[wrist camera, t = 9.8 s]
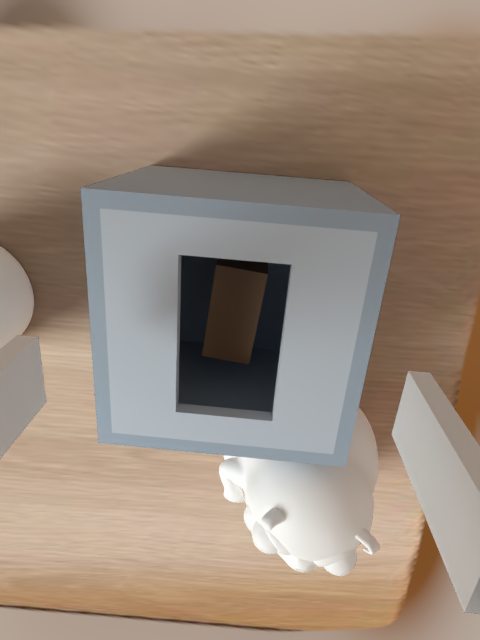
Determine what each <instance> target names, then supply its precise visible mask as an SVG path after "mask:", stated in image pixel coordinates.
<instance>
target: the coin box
mask: <svg viewBox="0 0 480 640" xmlns="http://www.w3.org/2000/svg"><path fill="white" fill-rule="evenodd" d="M80 189H81V203H82V217H83V231H84V246H85V260H86V274H87V288H88V303H89V317H90V331H91V345H92V360H93V374H94V388H95V402H96V416H97V431H98V443H104V444H114V445H124V446H134V447H144V448H155V449H165V450H175V451H185V452H195V453H206V454H216V455H226V456H236V457H246V458H257V459H267V460H277V461H287V462H297V463H308V464H318V465H328V466H338V467H346V463H347V458H348V453H349V449H350V444H351V440H352V435H353V431H354V426H355V421H356V417H357V412H358V408H359V403H360V399H361V394H362V389H363V385H364V380H365V376H366V371H367V367H368V362H369V357H370V353H371V348H372V344H373V339H374V335H375V330H376V326H377V321H378V316H379V312H380V307H381V303H382V298H383V294H384V289H385V284H386V280H387V275H388V271H389V266H390V262H391V257H392V252H393V248H394V243H395V239H396V234H397V230H398V225H399V220H400V216H401V215H400V214H398V213H397V212H395V211H394V210H392V209H391V208H389V207H388V206H386V205H385V204H383V203H382V202H380V201H378V200H377V199H375V198H374V197H372V196H371V195H369V194H368V193H366V192H365V191H363V190H362V189H360V188H359V187H357V186H356V185H354V184H353V183H351V182H348V181H336V180H323V179H311V178H299V177H287V176H275V175H263V174H251V173H239V172H227V171H215V170H203V169H191V168H179V167H167V166H155V165H150V166H147V167H144V168H141V169H138V170H135V171H132V172H128V173H125V174H122V175H119V176H116V177H113V178H110V179H107V180H104V181H101V182H97V183H94V184H91V185H88V186H85V187H82V188H80ZM219 258H221V259H232V260H244V261H255V262H266V263H268V276H267V281H266V286H265V291H264V295H263V300H262V305H261V310H260V314H259V319H258V324H257V329H256V333H255V338H254V343H253V348H252V353H251V357H250V362H249V364H244V363H238V362H233V361H227V360H222V359H216V358H211V357H205V356H202V351H203V345H204V339H205V332H206V326H207V320H208V313H209V307H210V301H211V294H212V288H213V282H214V275H215V269H216V264H217V261H218V259H219Z"/></svg>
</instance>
